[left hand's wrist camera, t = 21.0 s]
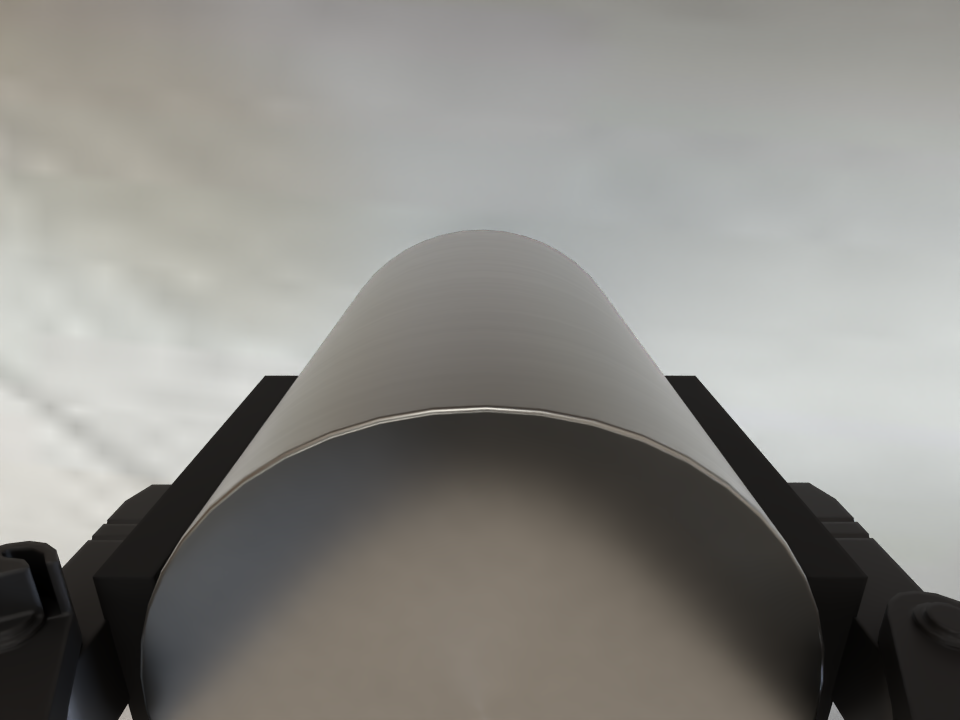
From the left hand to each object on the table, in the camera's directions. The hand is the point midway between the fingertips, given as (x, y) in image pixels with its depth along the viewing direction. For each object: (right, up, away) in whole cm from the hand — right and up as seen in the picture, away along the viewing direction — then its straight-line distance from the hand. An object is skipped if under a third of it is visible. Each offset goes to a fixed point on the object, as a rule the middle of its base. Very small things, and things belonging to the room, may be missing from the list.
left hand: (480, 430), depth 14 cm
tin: (0, +1, +3) cm, 3 cm away
